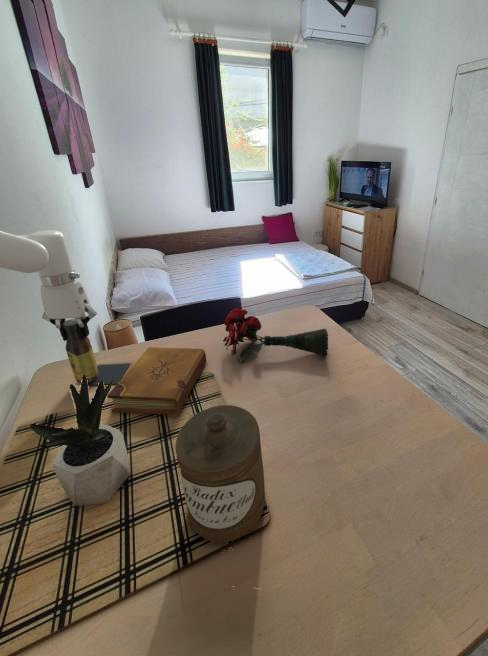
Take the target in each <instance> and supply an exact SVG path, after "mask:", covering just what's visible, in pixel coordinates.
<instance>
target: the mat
mask: <svg viewBox="0 0 488 656" xmlns="http://www.w3.org/2000/svg"><path fill="white" fill-rule="evenodd" d="M130 365H131V362H129V363H113V364H98V365H97V368H98V376H97V378H96V379H95V380H93V381H91V382H88V386H87V387H93V386H95V387H96V386H99V385H98V383H99V382H100V381H103V382H104V385H103V386H109V384H110V382H111V381H112V380H113V384H112V385H117V383H118V382H119V381H120V380H121V379H122V378H123V377H124V375H125V374H126V373H127V371H128V368H129V367H130Z"/></svg>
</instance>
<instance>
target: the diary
mask: <svg viewBox="0 0 488 656" xmlns="http://www.w3.org/2000/svg"><path fill="white" fill-rule="evenodd" d="M206 363H207V355H206V351H205V350H204V349H203V348H191V347H190V348H189V347H188V348H186V347H185V348H184V347H160V346H159V347H156V346H155V347H154V346H148V348H147V349H145V351H144V352H143V353H142V354H141V356H140V357H138V359H137V360H136V361H135V363H133V365H132V366H131V367H130V368H129V369H128V370H127V371H126V372H125V373H124V375H123V377H122V378H121V380H120V381H119V382H118V383H117V384H115V385H114V387H113V388H112V389H111V390H110V391H109V393H108V394H107V399H112V402H113V406H112V408H111V413H121V414H122V413H124V414H144V415H145V414H146V415H163V416H164V415H165V416H166V415H167V416H178V415H179V414H180V412H181V411H182V409H183V406H184V404H186V403H185V402H186V401H187V399H188V397H189V395H190V394H191V392H192V390H193V389H194V387H195V384H196V382H197V380H198V378H199V376H200V375H201V373H202V370H203V369H204V367H205V365H206Z"/></svg>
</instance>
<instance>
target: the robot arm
mask: <svg viewBox="0 0 488 656" xmlns="http://www.w3.org/2000/svg"><path fill="white" fill-rule="evenodd" d="M0 268H1V269H6V270H11V271H15V272H20V273H25V274H33V273H37V274H38V276H39V280H40V282H41V285H40V298H41V302H42V307H43V309H44V311H43V314H42V316H41V318H42V320H45V321H47V322H49V323H51V324H52V325H54V326H55V328H56V329H58V330H59V333H60V336H61V337H62V340H63V341H64V342H67V333H66V330H65V328H64V325H63V323H64V322H65V321H67V319H74V318H75V319H76V321H77V323H78V324H79V326H80V327H79V328H78V330H79V334H80V337H81V339H82V340H85V339H86V337H89V335H90V330H89V325H88V323H89V322H90V321H91V320H92V319H93V318H94V317H96V315H98V312H97V311H96V310H95V309H94V308H92V305H91V301H90V298H89V295H88V293H87V291H86V289H85V286H84V285H83V282H82V281H81V279H80V277H81V276H80V275H81V274H80V273H79V272H76V271H75V269H74V267H73V263H72V259H71V257H70V253H69V249H68V245H67V242H66V239H65V235H64V233H62V232H61V231H59V230H55V229H46V230H40V231H39V230H38V231H35V232H32V233H29V234H21V235H20V234H19V235H16V234H13V233H9V232H5V231H2V230H0ZM86 313H87V314H88V315H86Z"/></svg>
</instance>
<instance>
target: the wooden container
mask: <svg viewBox="0 0 488 656" xmlns="http://www.w3.org/2000/svg"><path fill="white" fill-rule="evenodd" d="M175 454H176V455H175V456H176V459H177V464H178V467H179V471H180V476H181V483H182V488H183V495H184V500H185V504H186V508H187V513H188V517H189V521H190V524H191V526H192V529H193V530H194V532H195V533H196V534H198V535H199V536H200V537H201V538H202V539H204V540H206V541H209V542H211V543H220V544H221V543H228V542H232V541H235V540H238V539H240V538H241V537H243V536H244V535H246V534H247V533H249V532H250V531H251V530H252V529H253V528H254V527H255V526H256V524H258V522H259V520H260V518H261V516H262V515H263V512H264V508H265V503H266V489H265V471H264V462H263V452H262V444H261V431H260V426H259V423H258V421H257V419H256V417H255V416H254V415H253V414H252V413H251V412H250V411H249V410H247V409H246V408H243V407H240V406H238V405H233V404H232V405H231V404H222V405H221V404H220V405H216V406H215V405H214V406H210V407H208V408H206V409H203V410H201V411H199V412H197V413H196V414H195V415H193V416H191V417H190V418H189V419H188V420H187V421H186V422H185V423H184V424H183V425H182V427H181V428H180V430H179V431H178V433H177V436H176V439H175Z"/></svg>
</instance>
